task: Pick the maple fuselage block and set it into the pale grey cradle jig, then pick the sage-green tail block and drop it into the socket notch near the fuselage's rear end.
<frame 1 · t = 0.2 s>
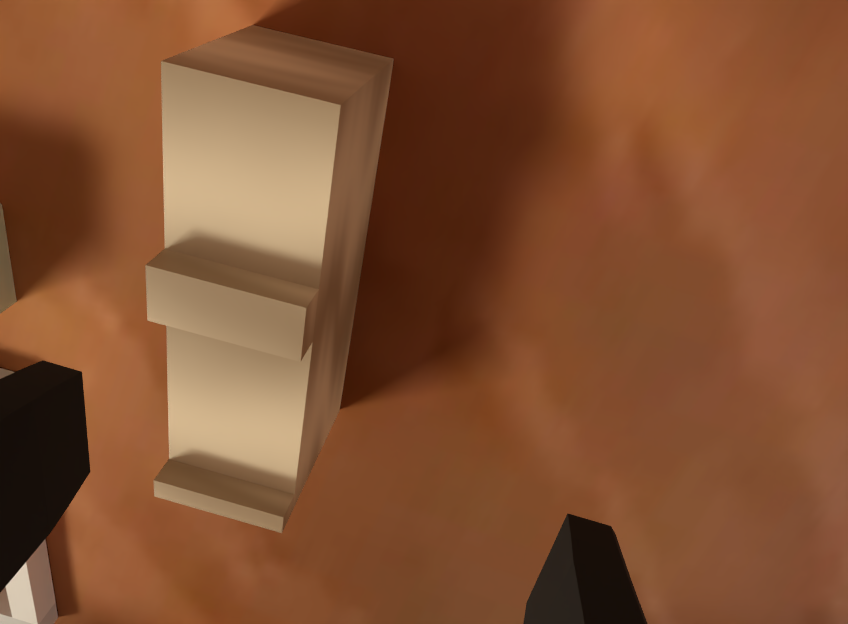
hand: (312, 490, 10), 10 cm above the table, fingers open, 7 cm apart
fuselage: (304, 242, 20), on the table
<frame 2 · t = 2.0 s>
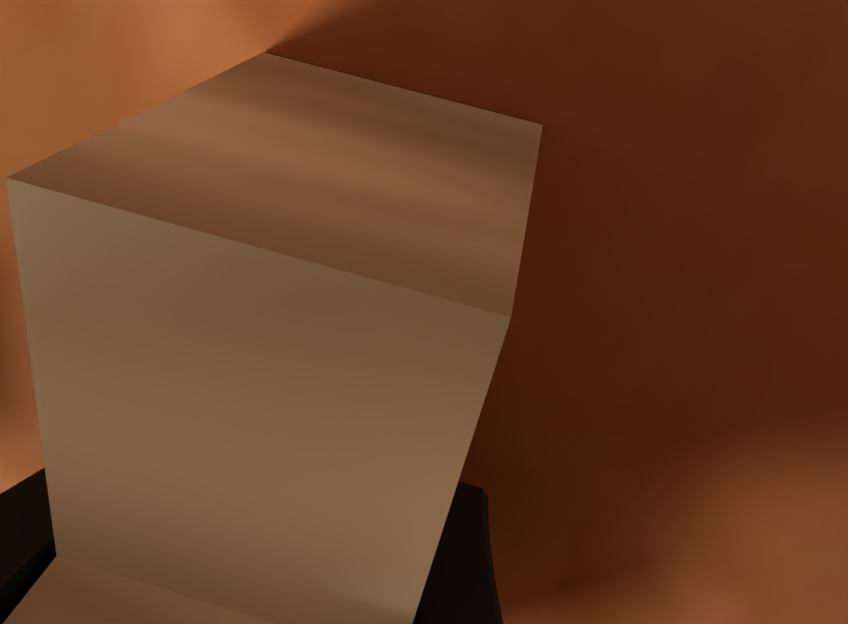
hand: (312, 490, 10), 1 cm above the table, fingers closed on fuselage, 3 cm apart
fuselage: (340, 424, 11), on the table, touching gripper
when the fingers open (2 cm above the table, at t = 5.2 s): fuselage stays where it is, resting in jig.
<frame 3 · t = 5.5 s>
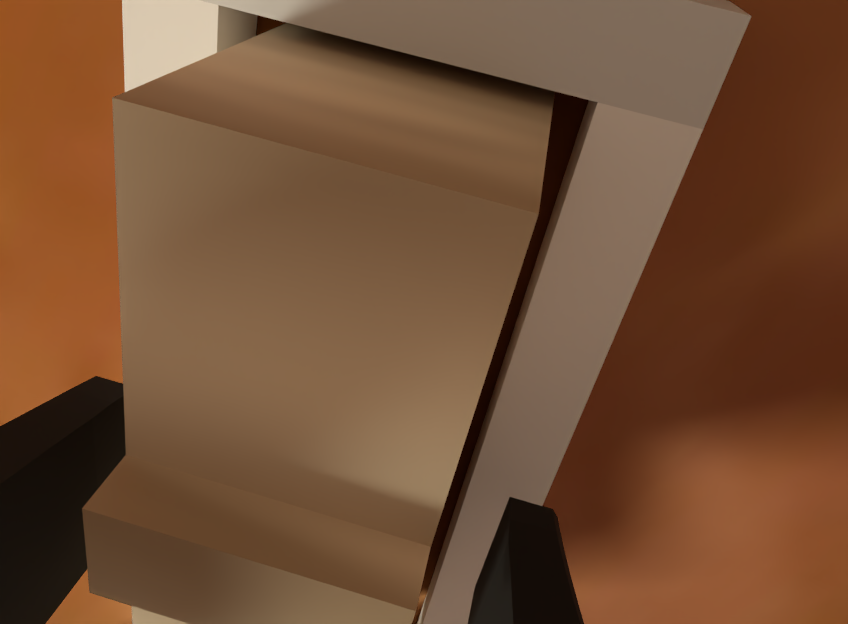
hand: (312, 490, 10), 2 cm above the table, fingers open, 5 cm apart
fuselage: (363, 370, 12), resting in jig
jig: (356, 391, 12), on the table
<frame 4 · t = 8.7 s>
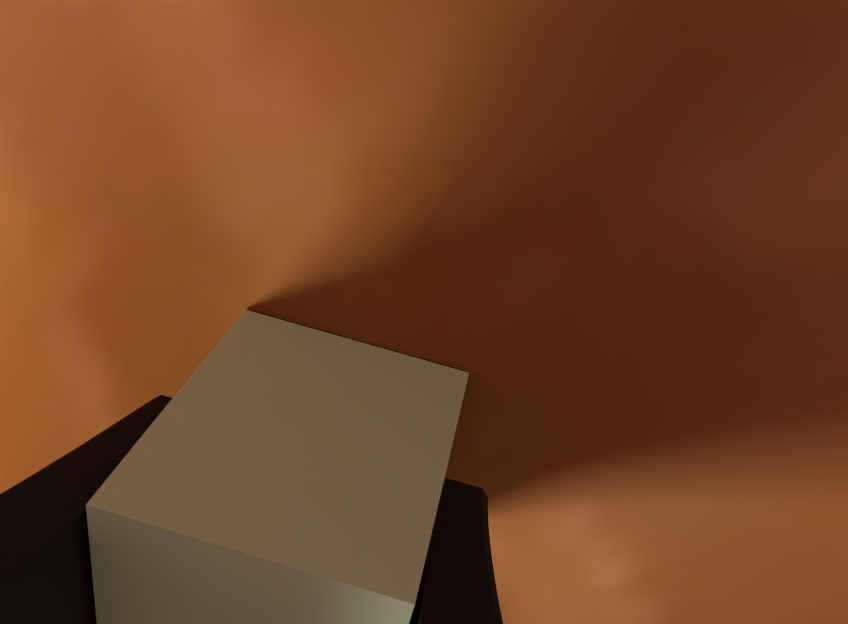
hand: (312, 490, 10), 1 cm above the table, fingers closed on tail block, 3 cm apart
tail block: (340, 426, 11), on the table, touching gripper
when the fingers open (7 cm above the table, at t = 11.3 s): tail block moves 1 cm, resting on fuselage.
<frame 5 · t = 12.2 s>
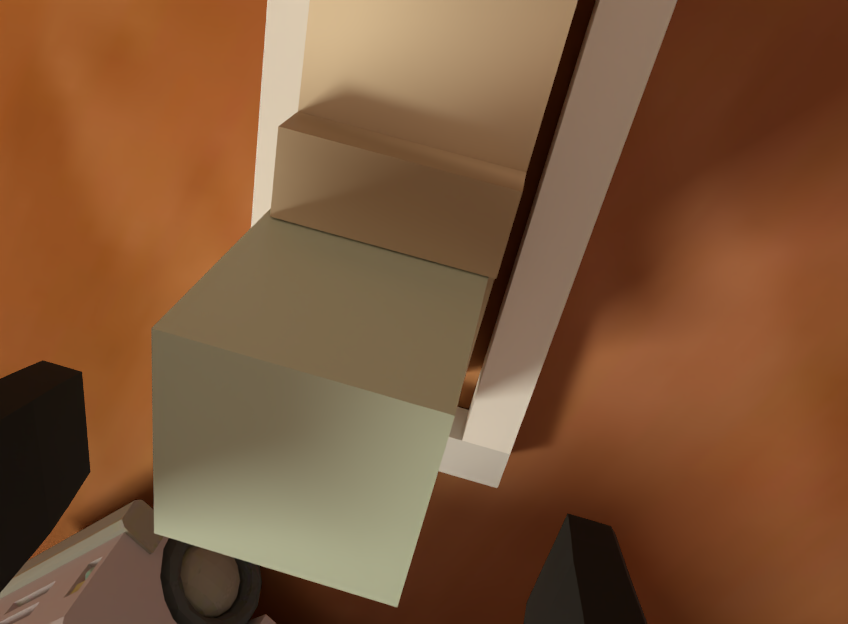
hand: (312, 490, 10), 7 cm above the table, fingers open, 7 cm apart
fuselage: (440, 146, 15), resting in jig, touching tail block
tail block: (369, 316, 12), point 4 cm above the table, touching fuselage
jig: (432, 171, 15), on the table
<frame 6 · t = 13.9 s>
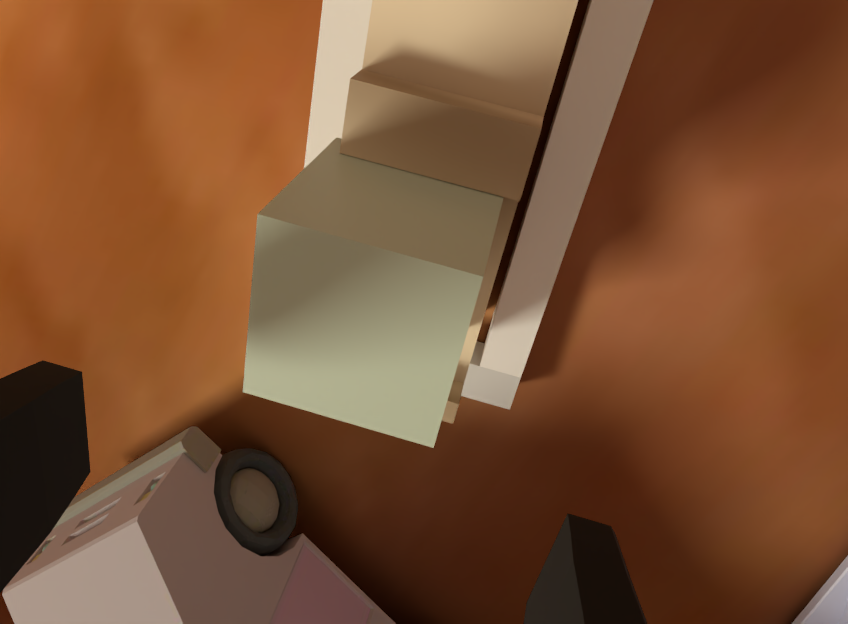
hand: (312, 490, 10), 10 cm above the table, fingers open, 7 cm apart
fuselage: (466, 109, 18), resting in jig, touching tail block
tail block: (404, 238, 15), point 4 cm above the table, touching fuselage
jig: (456, 129, 18), on the table
toy vehicle: (325, 590, 29), on the table
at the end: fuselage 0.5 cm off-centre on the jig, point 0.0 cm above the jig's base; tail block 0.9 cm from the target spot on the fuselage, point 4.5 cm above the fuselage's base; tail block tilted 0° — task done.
